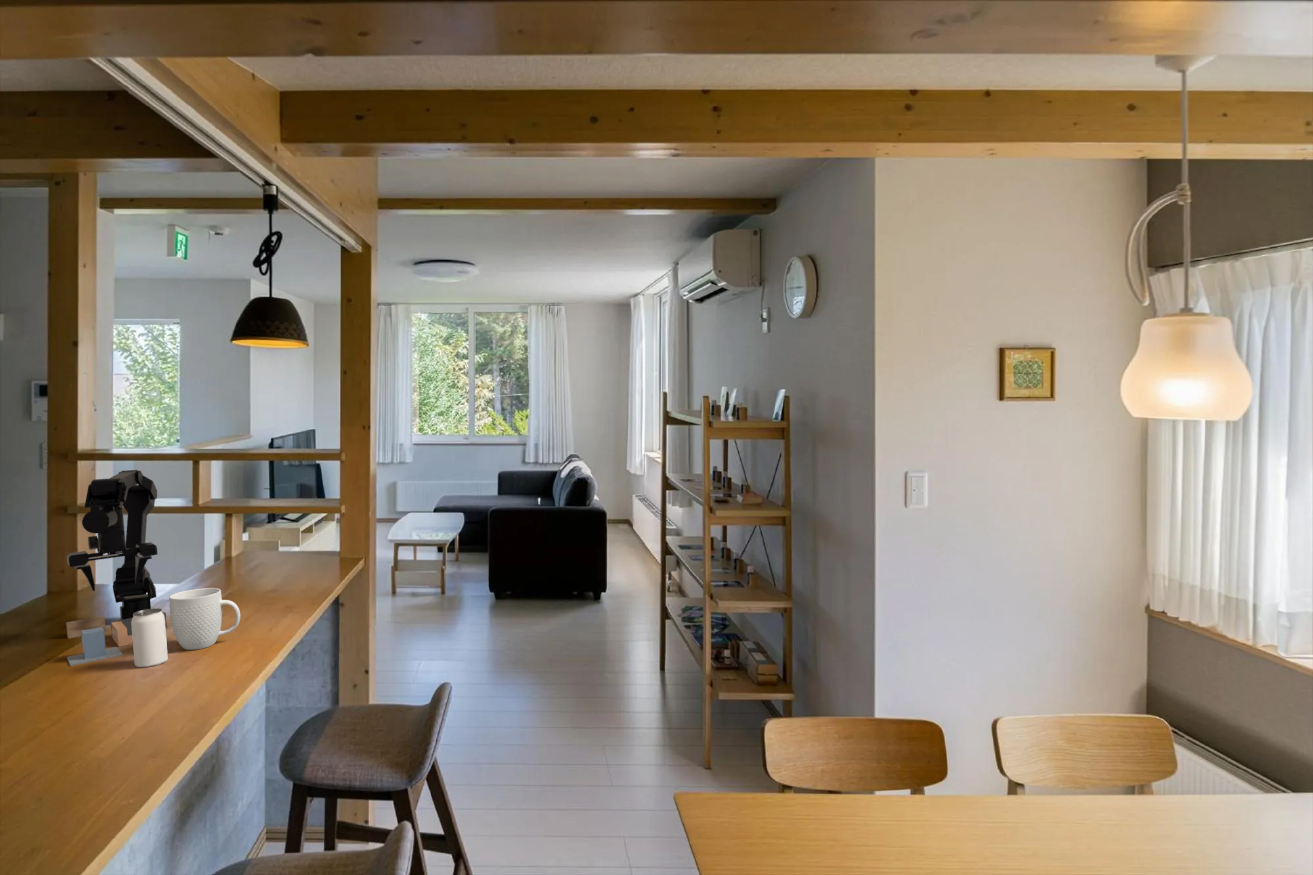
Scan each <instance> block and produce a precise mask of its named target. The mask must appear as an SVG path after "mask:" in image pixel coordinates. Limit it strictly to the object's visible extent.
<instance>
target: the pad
mask: <svg viewBox="0 0 1313 875" xmlns="http://www.w3.org/2000/svg"><path fill="white" fill-rule="evenodd" d="M105 649H106V655H104V656H99V657H94V658H90V659H85V658H84V656H83V653H79V654H74V655H70V656H66V660H67V662H68V664H69V666H70V667H73V666H78V665H82V664H88V663H92V662H96V661H97V662H98V661H102V660H106V659H112V658H116V657H121V656H123V653H122V652H121V650H120V649H119V646H114V647H109V648H105Z"/></svg>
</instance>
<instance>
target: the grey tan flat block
mask: <svg viewBox="0 0 1313 875" xmlns="http://www.w3.org/2000/svg"><path fill="white" fill-rule="evenodd" d="M162 613H163V614H164V617H165V627H166V629H167V628H168V626H167V625H168V624H167V613H166V612H165V611H163V612H162ZM131 621H132V618H129V619H123V620H121V619H119V620H114V621H110V629H111V638H112V639H113V641H114V642H115V643H116V645H117V647H124V646H128V645H129V636H132V625H131Z"/></svg>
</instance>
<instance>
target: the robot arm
mask: <svg viewBox="0 0 1313 875" xmlns="http://www.w3.org/2000/svg"><path fill="white" fill-rule="evenodd" d="M157 499H158V490H157V487H156V484H155V483H154V481H153V480H152V479H150V478H148V477H146V476H145V475H144V474H143V473H142V471H141V470H139V469H132V470H131V469H130V470H121V471H118V473H116V474H114V475H113V476H111V477H110V478H97V479H96V478H95V479H92V480H91V482H90V483H89V484H88V487H87V491H86V497H85V503H84V508H85V509H88V508H89V509H90V511H88V512H86V514H85V515H83V517H82V520H81V524H82V528H83V529H84V530H86V532H88V533H90V534H97V535H93V536H88V537H87V543H88V545H87V546H88V550H91V551H92V550H96V551H97V552H91V553H88V552H87V551H86V550H84V551H74V552H69V553H68V554H67V555H66V564H67V565H68V566H67V567H69V568H74V569H75V570H81V572H82V573H83V574H84V576H85V577H86V580H87V582H88V584H89V586H90V587H91V590H92V591H93V592H95V591H96V585H95V580H94V576H93V575H94V574H93V571H92V567H91V565H90V564H89V562H92V561H99V560H106V559H107V560H108V559H114V558H120V557H121V558H122V557H124V560H123V564H122V565H121V567H117V568H116V570H115V578H114V581H113V583H112V591H113V595H114V596H113V597H114V601H115V603H117V604H118V603H121V606H119V613H120V614H119V616H120V617H119V618H120V620H123V619H129V618H133V613H135V612H138V611H142V610H147V609H152V607H151V606H152V604H151V600H152V599H155V598H157V591H156V589H157V588H156V586H155V584H154V582H153V580H152V578H151V574H150V572H149V570H148V569H147V568H146V564H147V562H148V560H151V559H153V556H156V555H158V547H157V545H155V544H154V543H153V542H152V541H151V542H146V538H147V537H146V536H147V520H148V518H147V517H148V515H149V514H150V512H151V511H152V510H153V509H154V508H155V502H156V500H157ZM124 510H125V512H126V513H127V522H126V531H125V520H124Z"/></svg>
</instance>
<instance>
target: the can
mask: <svg viewBox="0 0 1313 875" xmlns="http://www.w3.org/2000/svg"><path fill="white" fill-rule="evenodd" d="M162 611H163V609H162V608H151V609H147V610H142V611H138V612H135V613H133V618H132V621H131V625H132V635H131V637H132V647H133V649H132V651H133V659H134V660H133V661H134V666H136V667H137V668H140V669H141V668H144V669H145V668H151V667H156V666H160V665H163V664H164V663H165V662H167V660H168V658H169V655H168V645H167V631H166V630H167V628H166V627H165V617H164V614H163V613H162Z"/></svg>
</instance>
